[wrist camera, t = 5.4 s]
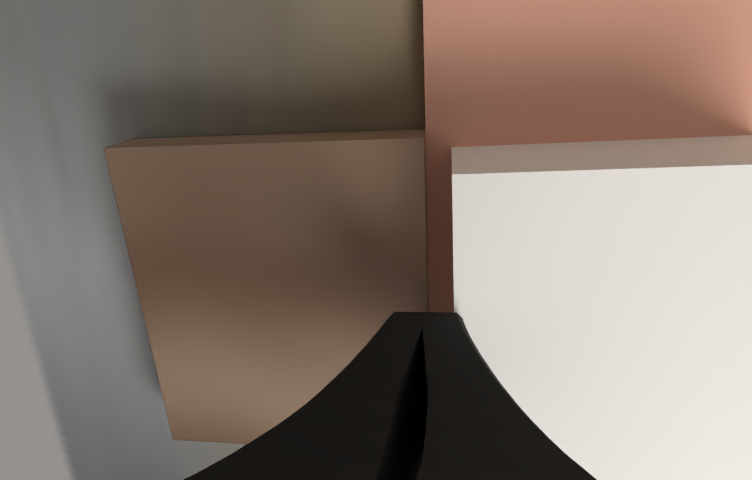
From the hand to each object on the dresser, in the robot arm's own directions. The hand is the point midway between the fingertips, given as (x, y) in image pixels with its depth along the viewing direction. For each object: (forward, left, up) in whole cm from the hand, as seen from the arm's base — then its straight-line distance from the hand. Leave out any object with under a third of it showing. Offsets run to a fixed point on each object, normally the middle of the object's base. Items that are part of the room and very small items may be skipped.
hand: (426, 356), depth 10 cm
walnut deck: (0, +4, -3) cm, 5 cm away
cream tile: (0, -3, -3) cm, 4 cm away
